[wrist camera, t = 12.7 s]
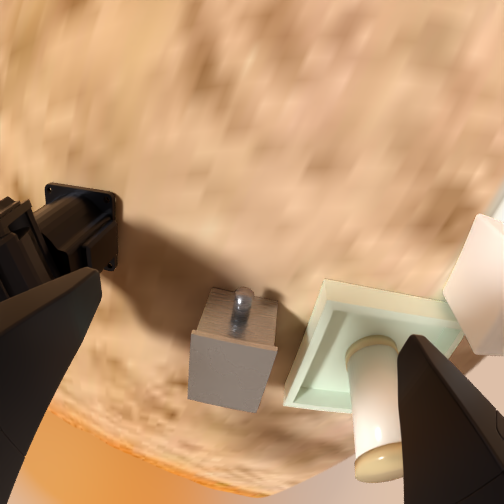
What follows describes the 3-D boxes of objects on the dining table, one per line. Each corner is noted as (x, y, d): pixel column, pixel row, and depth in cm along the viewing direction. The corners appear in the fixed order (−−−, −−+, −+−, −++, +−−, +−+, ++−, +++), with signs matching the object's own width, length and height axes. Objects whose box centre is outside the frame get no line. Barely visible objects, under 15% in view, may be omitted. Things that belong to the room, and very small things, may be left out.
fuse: (346, 375, 27) (355, 486, 17) (342, 340, 25) (354, 463, 15) (396, 366, 26) (418, 474, 16) (397, 329, 24) (429, 448, 14)
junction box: (202, 351, 28) (187, 398, 23) (212, 264, 23) (192, 311, 19) (262, 363, 28) (256, 413, 23) (286, 279, 23) (284, 330, 18)
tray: (284, 384, 29) (283, 405, 27) (324, 278, 23) (327, 299, 21) (399, 397, 29) (403, 415, 27) (460, 304, 23) (471, 323, 20)
